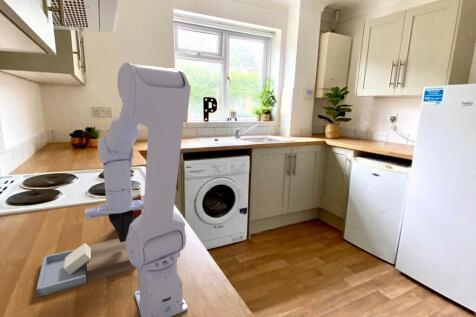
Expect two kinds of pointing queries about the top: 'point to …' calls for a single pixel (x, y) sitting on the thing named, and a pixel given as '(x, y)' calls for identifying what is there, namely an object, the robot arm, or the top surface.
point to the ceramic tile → (77, 258)
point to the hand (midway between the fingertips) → (122, 240)
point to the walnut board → (107, 259)
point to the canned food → (135, 196)
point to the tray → (58, 275)
